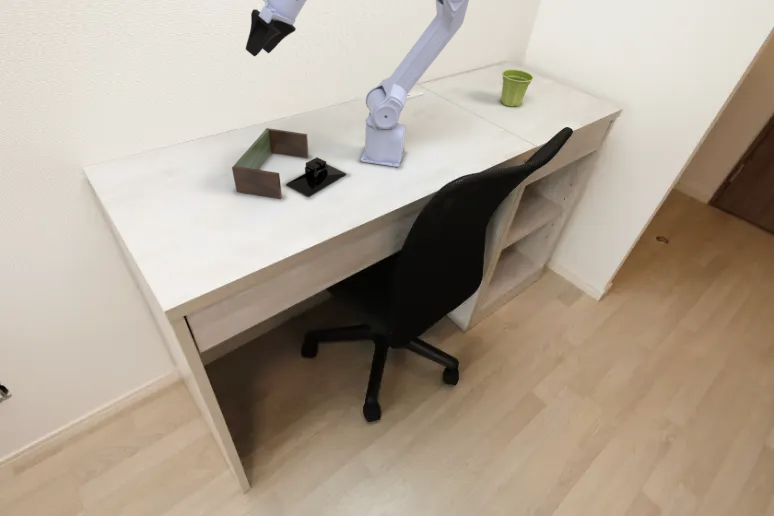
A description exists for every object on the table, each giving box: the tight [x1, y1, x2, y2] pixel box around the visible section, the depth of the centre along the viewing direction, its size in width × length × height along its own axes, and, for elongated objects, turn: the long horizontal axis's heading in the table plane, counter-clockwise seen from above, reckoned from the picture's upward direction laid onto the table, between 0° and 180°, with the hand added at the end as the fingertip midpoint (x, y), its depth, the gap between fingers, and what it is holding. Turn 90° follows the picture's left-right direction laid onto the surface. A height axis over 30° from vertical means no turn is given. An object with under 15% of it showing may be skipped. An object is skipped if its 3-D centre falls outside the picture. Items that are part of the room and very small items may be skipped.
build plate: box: [285, 156, 347, 198], centre depth 99 cm, size 12×7×5 cm, turn 143°
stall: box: [231, 127, 310, 200], centre depth 100 cm, size 10×19×6 cm, turn 169°
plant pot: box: [500, 69, 534, 107], centre depth 137 cm, size 9×9×9 cm
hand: (257, 51), depth 89 cm, fingers open, 7 cm apart
